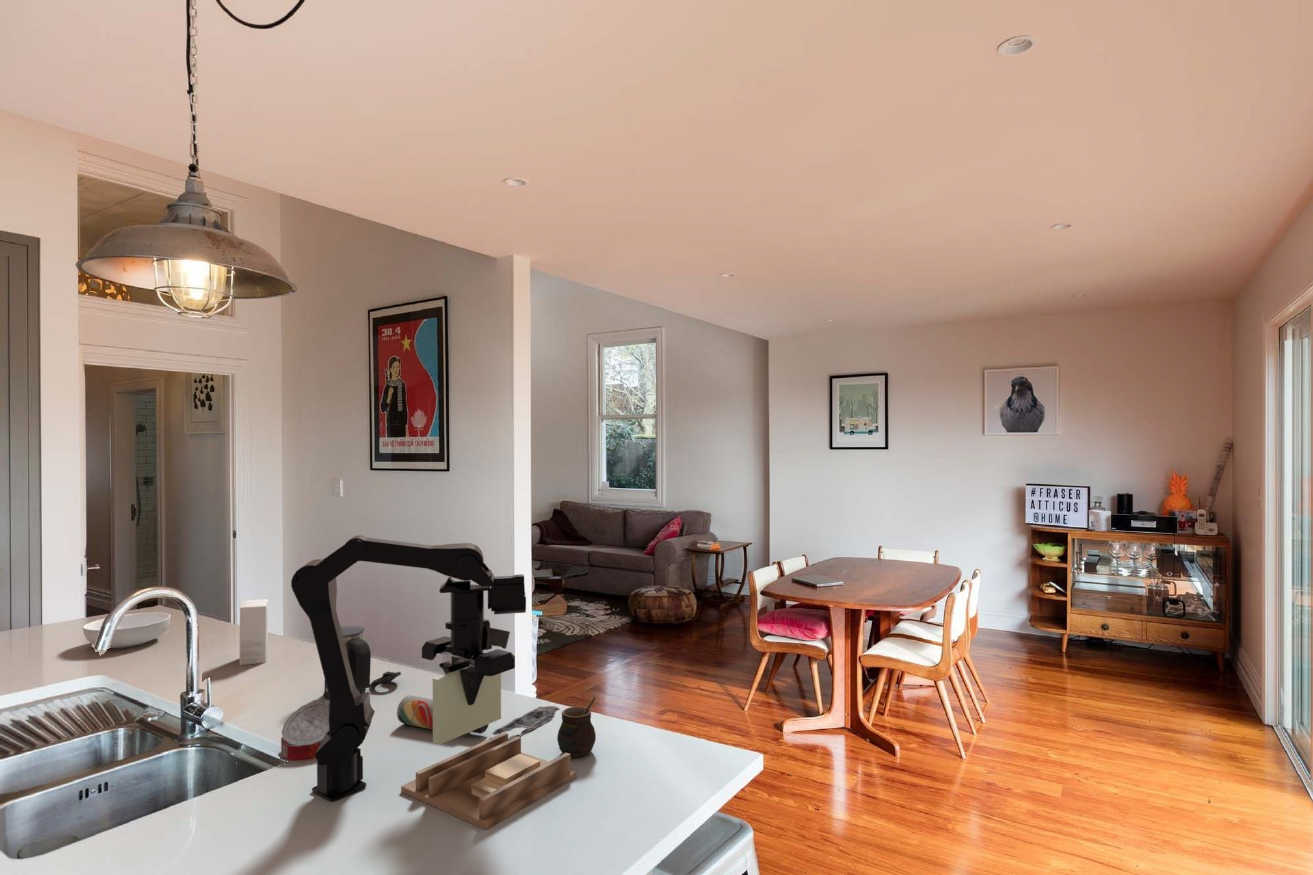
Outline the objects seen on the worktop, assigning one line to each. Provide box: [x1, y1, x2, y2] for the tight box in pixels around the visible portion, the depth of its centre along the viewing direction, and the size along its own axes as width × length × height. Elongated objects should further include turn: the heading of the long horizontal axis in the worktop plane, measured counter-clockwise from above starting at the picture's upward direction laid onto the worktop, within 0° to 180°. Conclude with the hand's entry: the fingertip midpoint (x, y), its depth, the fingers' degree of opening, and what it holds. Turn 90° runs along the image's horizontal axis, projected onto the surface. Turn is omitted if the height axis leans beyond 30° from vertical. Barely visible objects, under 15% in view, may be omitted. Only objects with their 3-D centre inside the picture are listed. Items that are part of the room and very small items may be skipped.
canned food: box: [280, 698, 330, 762], centre depth 142 cm, size 11×10×10 cm
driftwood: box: [488, 705, 561, 740], centre depth 153 cm, size 21×7×2 cm, turn 149°
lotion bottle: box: [396, 694, 489, 735], centre depth 151 cm, size 6×6×20 cm
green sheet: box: [432, 667, 502, 746], centre depth 131 cm, size 14×2×11 cm, turn 145°
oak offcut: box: [485, 754, 540, 786], centre depth 126 cm, size 8×5×2 cm, turn 145°
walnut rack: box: [400, 732, 577, 831], centre depth 127 cm, size 21×21×4 cm
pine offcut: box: [472, 778, 502, 798], centre depth 125 cm, size 11×6×2 cm, turn 145°
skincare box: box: [239, 598, 269, 667], centre depth 198 cm, size 8×7×16 cm
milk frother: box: [323, 625, 402, 700], centre depth 175 cm, size 14×16×15 cm
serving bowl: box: [82, 611, 172, 649], centre depth 215 cm, size 21×21×7 cm
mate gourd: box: [556, 696, 597, 759], centre depth 140 cm, size 7×8×10 cm
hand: (467, 703), depth 131 cm, fingers closed on green sheet, 2 cm apart
